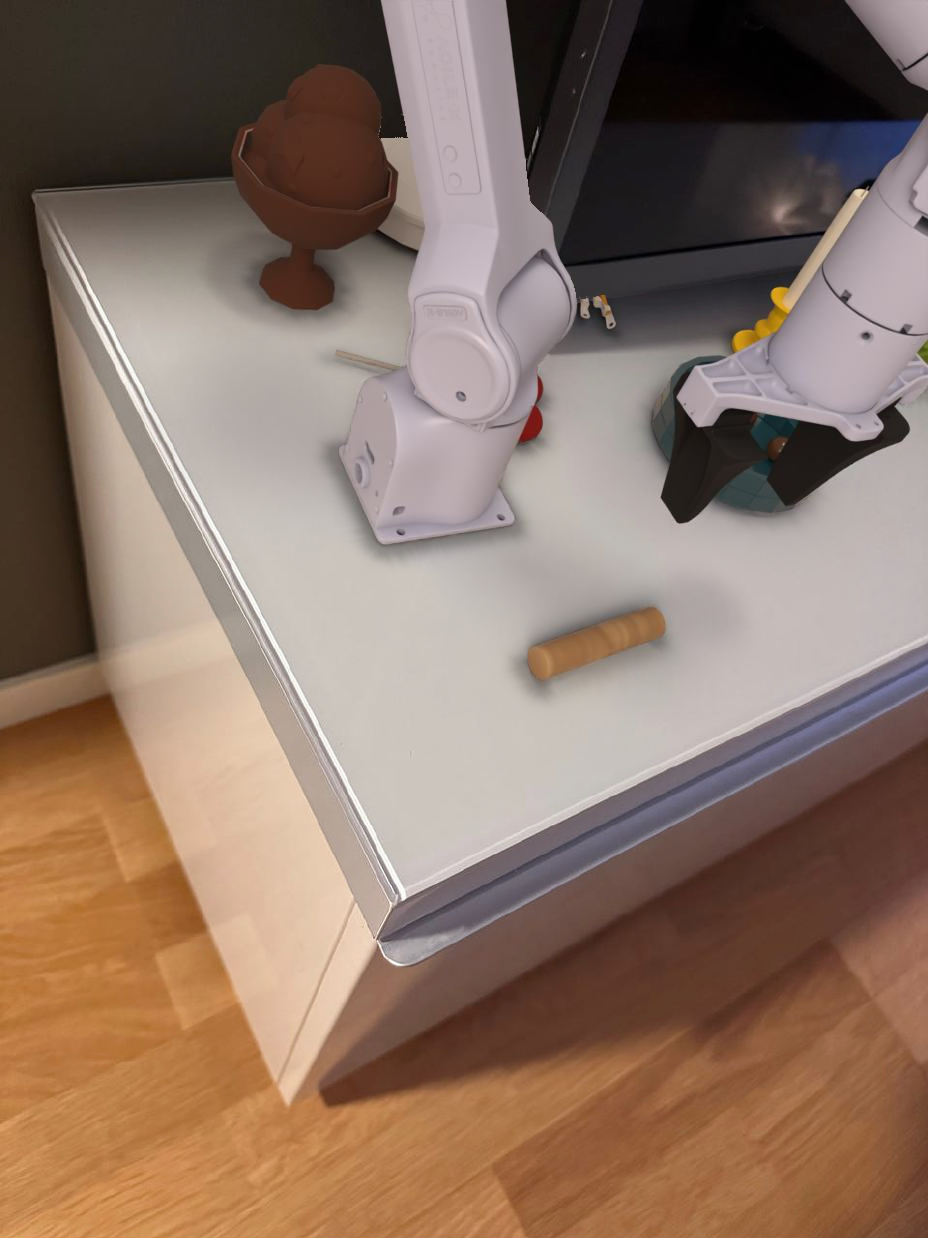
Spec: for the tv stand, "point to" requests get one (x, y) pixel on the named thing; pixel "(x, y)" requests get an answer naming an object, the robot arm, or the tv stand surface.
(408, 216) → the lid
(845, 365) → the robot arm
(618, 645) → the stirring stick
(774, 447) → the hazelnut
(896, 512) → the tv stand surface
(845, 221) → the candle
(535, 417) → the lollipop
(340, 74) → the ice cream bowl
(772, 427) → the bowl
